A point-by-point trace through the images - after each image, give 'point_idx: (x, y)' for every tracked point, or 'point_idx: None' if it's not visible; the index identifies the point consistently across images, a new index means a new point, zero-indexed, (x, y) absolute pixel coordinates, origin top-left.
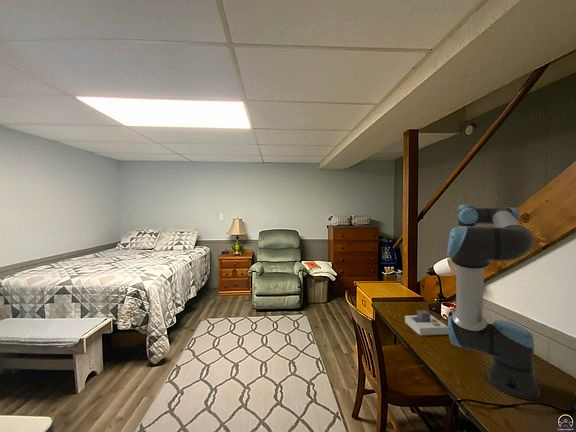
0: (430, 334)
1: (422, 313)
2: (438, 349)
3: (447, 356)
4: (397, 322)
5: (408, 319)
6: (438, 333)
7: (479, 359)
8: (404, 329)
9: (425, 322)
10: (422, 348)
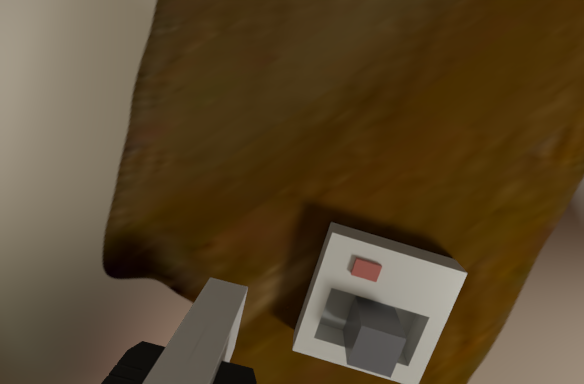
0: (410, 246)
1: (399, 341)
2: (485, 153)
3: (502, 102)
4: (438, 377)
5: (427, 357)
6: (376, 237)
7: (403, 40)
8: (466, 321)
9: (389, 304)
10: (539, 182)
